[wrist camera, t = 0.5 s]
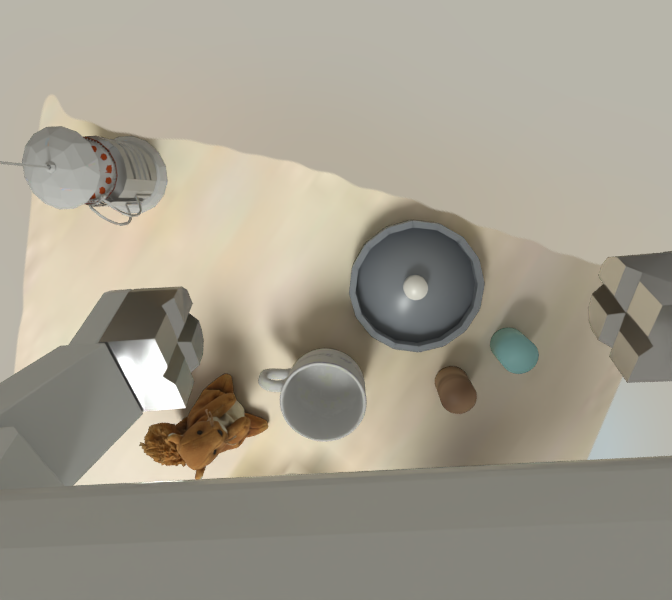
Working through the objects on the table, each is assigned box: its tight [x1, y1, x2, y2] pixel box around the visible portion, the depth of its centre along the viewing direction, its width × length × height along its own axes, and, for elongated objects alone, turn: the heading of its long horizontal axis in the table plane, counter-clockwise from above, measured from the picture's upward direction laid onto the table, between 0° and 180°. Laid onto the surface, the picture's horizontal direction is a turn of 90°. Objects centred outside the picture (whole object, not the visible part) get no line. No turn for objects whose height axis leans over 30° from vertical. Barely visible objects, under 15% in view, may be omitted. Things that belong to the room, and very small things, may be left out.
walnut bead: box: [435, 366, 477, 414], centre depth 59 cm, size 4×4×5 cm
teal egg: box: [490, 328, 539, 374], centre depth 58 cm, size 4×4×5 cm
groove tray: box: [349, 220, 485, 352], centre depth 58 cm, size 17×17×2 cm
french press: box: [0, 126, 167, 226], centre depth 47 cm, size 10×12×25 cm
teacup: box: [258, 348, 367, 441], centre depth 59 cm, size 14×11×8 cm
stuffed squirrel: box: [139, 374, 268, 480], centre depth 59 cm, size 10×14×13 cm
